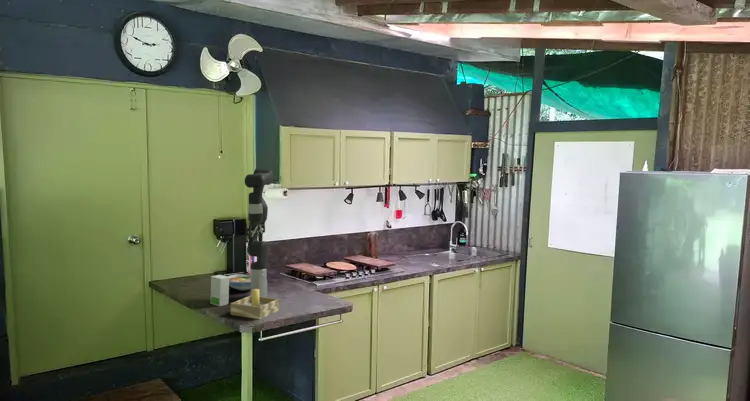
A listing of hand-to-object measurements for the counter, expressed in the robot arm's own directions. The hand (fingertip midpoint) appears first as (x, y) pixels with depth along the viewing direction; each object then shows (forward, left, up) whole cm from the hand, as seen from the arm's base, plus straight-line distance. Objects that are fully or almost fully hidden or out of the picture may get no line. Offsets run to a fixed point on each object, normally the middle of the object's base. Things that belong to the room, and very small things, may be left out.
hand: (255, 242), depth 277 cm
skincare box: (-1, -24, -37) cm, 44 cm away
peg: (+4, +3, -37) cm, 37 cm away
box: (+4, +3, -37) cm, 37 cm away
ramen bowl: (-34, -32, -37) cm, 59 cm away
